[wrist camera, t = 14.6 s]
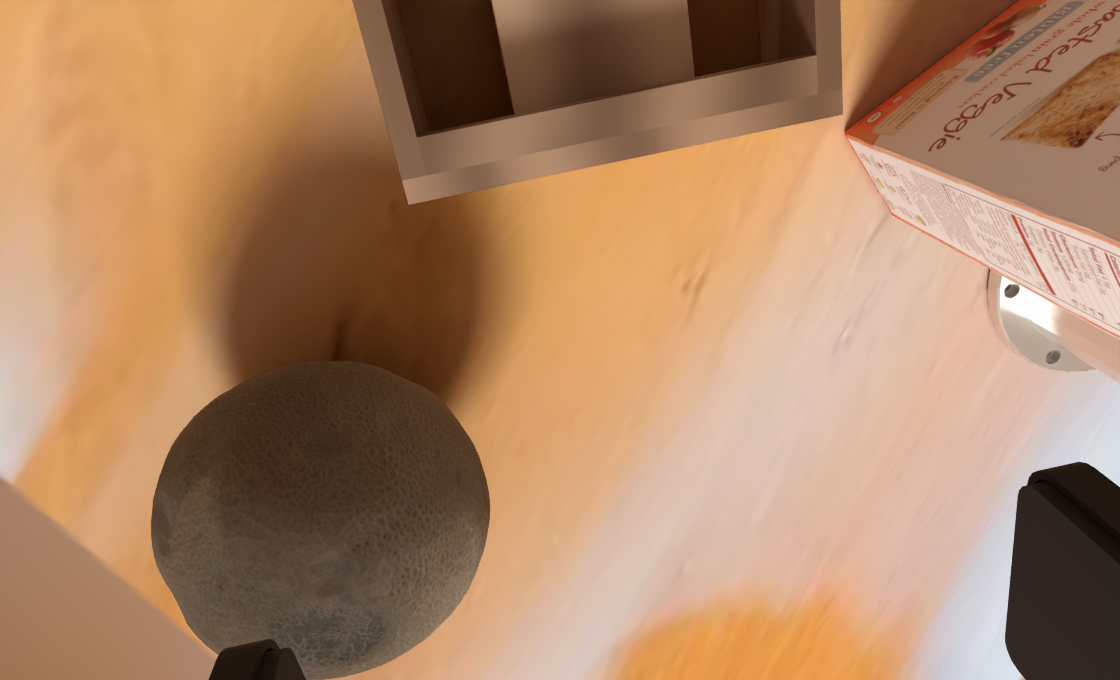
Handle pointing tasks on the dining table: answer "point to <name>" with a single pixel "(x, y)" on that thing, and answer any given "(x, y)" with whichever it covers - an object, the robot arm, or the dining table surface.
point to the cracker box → (1016, 152)
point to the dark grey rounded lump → (321, 516)
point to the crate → (601, 88)
